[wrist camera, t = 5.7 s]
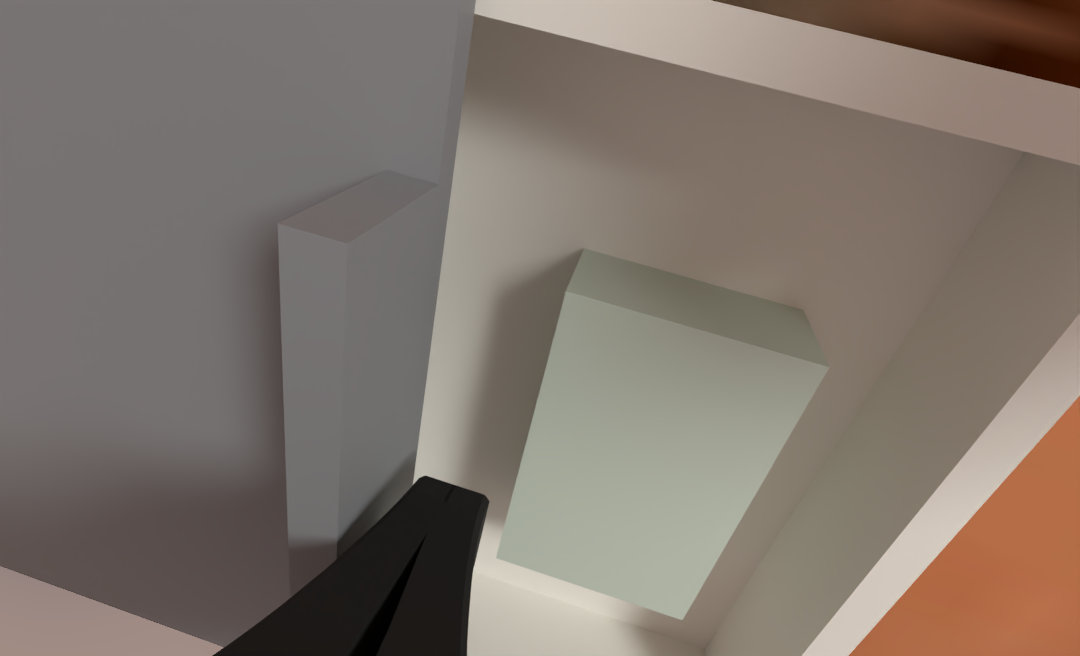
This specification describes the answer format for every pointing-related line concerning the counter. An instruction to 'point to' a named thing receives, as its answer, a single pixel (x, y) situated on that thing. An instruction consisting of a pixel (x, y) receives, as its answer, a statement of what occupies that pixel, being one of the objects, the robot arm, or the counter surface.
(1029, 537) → the counter surface
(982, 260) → the mailer box
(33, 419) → the lid
